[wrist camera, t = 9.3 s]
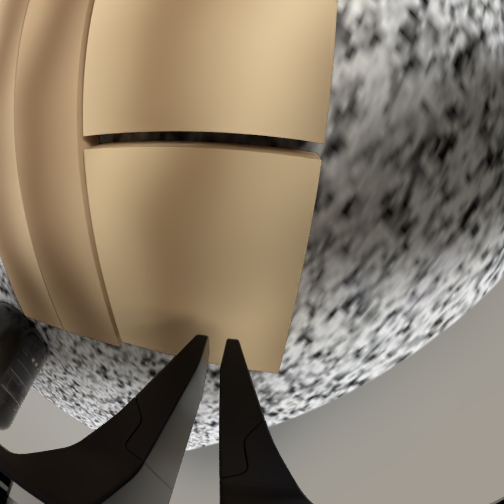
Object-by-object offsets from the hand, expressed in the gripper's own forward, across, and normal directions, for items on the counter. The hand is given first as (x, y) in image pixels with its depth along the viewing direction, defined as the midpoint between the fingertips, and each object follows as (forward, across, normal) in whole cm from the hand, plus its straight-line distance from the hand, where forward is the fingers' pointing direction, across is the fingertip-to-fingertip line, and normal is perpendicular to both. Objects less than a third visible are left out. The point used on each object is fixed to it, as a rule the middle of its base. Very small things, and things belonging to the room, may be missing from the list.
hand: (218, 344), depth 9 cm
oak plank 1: (+3, +1, -11) cm, 12 cm away
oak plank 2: (+3, +1, -1) cm, 4 cm away
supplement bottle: (+4, +18, +8) cm, 21 cm away
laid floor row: (+3, +10, -6) cm, 12 cm away
